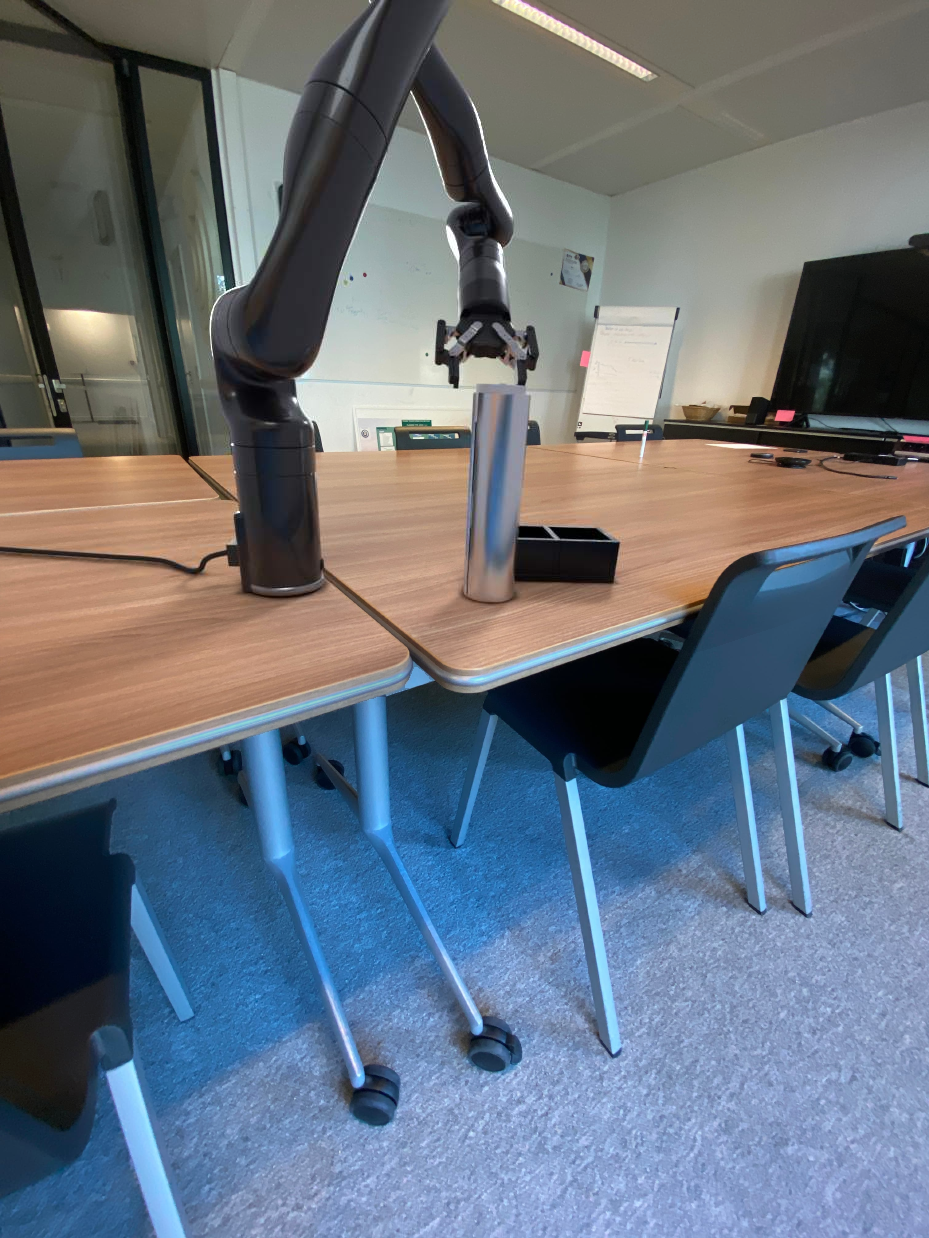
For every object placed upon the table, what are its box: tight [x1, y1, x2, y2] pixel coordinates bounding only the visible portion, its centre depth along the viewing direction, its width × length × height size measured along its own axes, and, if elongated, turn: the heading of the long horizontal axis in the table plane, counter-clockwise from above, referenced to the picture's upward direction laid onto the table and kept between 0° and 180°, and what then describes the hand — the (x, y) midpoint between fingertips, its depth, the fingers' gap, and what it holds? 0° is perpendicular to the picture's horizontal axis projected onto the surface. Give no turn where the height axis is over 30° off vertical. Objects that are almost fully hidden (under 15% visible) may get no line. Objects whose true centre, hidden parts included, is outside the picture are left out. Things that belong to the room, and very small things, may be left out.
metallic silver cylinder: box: [462, 382, 532, 603], centre depth 64 cm, size 6×6×25 cm
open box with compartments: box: [514, 524, 621, 584], centre depth 78 cm, size 17×9×6 cm, turn 95°
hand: (488, 385), depth 71 cm, fingers open, 8 cm apart
